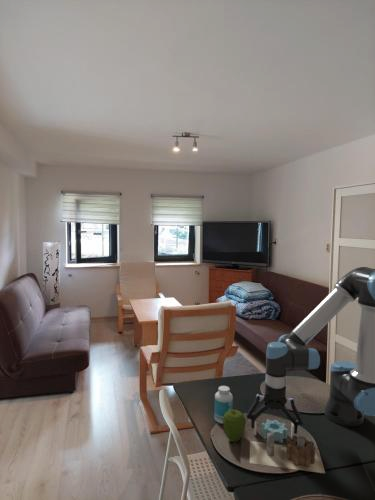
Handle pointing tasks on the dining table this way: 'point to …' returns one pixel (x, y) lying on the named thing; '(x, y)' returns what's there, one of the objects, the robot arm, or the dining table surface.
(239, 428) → the apple
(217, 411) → the pill bottle
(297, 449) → the gear
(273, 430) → the gear
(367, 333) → the robot arm
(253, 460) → the gear board
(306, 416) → the dining table surface
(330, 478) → the dining table surface
